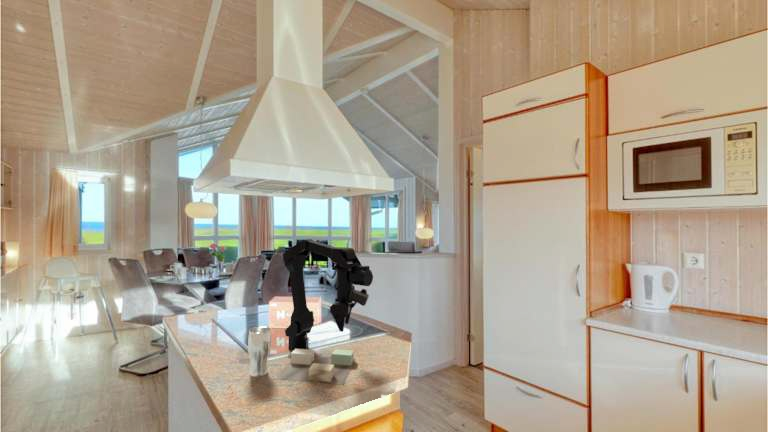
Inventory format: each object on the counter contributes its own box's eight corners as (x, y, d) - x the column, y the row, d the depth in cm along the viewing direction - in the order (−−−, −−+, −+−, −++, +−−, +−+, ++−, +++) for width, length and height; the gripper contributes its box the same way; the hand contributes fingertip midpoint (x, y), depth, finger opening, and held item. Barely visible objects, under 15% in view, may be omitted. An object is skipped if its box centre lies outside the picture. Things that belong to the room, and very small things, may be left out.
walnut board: (274, 382, 111) (274, 379, 111) (296, 357, 131) (296, 354, 131) (343, 388, 109) (343, 385, 109) (355, 361, 129) (355, 359, 129)
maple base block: (308, 380, 111) (308, 368, 111) (312, 373, 116) (313, 363, 116) (330, 381, 111) (330, 370, 111) (333, 375, 115) (334, 364, 115)
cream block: (290, 363, 123) (290, 353, 123) (294, 358, 128) (295, 348, 128) (310, 364, 123) (310, 354, 123) (313, 359, 127) (314, 349, 127)
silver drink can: (256, 382, 111) (258, 334, 111) (242, 376, 114) (243, 330, 114) (274, 374, 117) (275, 329, 117) (260, 369, 120) (261, 324, 120)
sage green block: (331, 364, 124) (331, 354, 124) (334, 358, 128) (334, 349, 128) (351, 365, 123) (351, 355, 123) (353, 360, 128) (353, 350, 128)
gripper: (363, 288, 116) (362, 336, 116) (370, 279, 135) (370, 320, 135) (329, 287, 117) (329, 335, 117) (341, 278, 136) (341, 319, 136)
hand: (344, 327), depth 126 cm, fingers open, 9 cm apart
